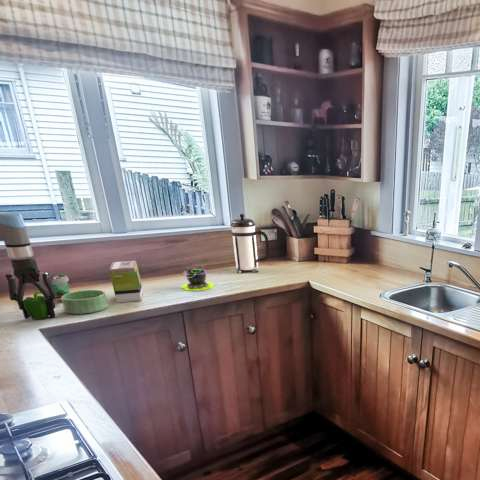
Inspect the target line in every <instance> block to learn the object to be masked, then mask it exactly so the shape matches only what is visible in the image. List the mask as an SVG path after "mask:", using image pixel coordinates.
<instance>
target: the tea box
mask: <svg viewBox="0 0 480 480" xmlns="http://www.w3.org/2000/svg"><path fill="white" fill-rule="evenodd" d="M137 263H138V262H137V260H125V261H112V262H111V264H110V267H109V268H108V272H109V276H110V281H111V285H112V289H113V292H114V296H115V300H116V303H118V304H119V303H130V302H140V301H142V300H143V294H144V289H143V285H142V281H141V276H140V273H139V268H138V267H139V266H138V264H137Z"/></svg>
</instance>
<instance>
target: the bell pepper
mask: <svg viewBox="0 0 480 480" xmlns="http://www.w3.org/2000/svg"><path fill="white" fill-rule="evenodd" d="M39 294H42V293H41V292H40V290H37V291H35V292H34V293H33V297H30V296H27V297H25V298H24V299H23V304H24V307H25V309H26V311H27V313H28V314H29V316H30V317H29V318H31V319H32V320H36V319H37V320H44V319H47V318H49V317H50V315H49V312H48V309H47V305H46V302H45V301H47V299H46V298H45V297H44V295H39Z"/></svg>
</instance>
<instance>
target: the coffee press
mask: <svg viewBox="0 0 480 480" xmlns="http://www.w3.org/2000/svg"><path fill="white" fill-rule="evenodd" d="M227 230H228V231H231V236H232V243H233V253H234V261H235V267H236V269H237V270H236V273H237V274H241V273H242V272H243V271H254V272H255V273H259V271H260V270H259V262H266V261H267V260H268V259H269V258H270V243H269V237H268V235H267V233H266V232H264V231H262V230H256V223H255V221H254V220H253V219H251V218H246V217H245V214H244V213H240V214H239V218H235V219H233V220H231V222H230V226H229V227H228V228H227ZM256 235H261V236H263V237H264V243H265V255H264V257H258V248H257V237H256Z"/></svg>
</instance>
